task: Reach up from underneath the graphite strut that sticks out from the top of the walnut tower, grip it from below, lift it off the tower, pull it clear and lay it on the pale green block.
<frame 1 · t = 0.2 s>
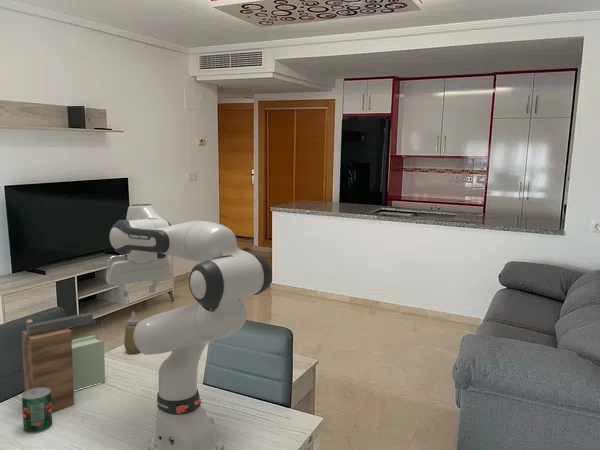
hand: (138, 294, 156), 39 cm above the table, tool pointing down, fingers open, 8 cm apart
strut: (61, 328, 162), point 26 cm above the table, touching tower
canned tomato: (38, 427, 149), on the table
squeeze bottle: (134, 352, 210), on the table
pale green block: (80, 385, 177), on the table
tower: (49, 406, 161), on the table
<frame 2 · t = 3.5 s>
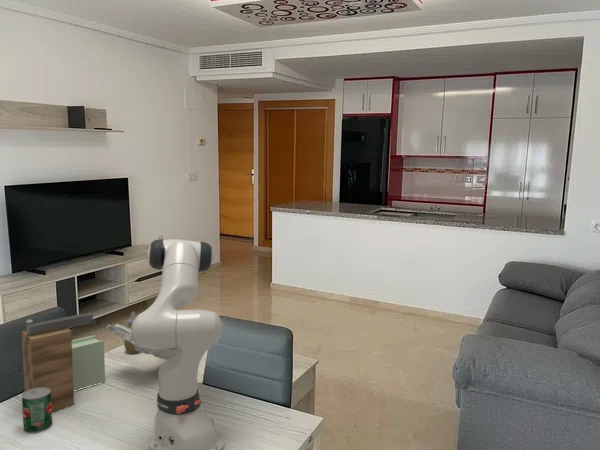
hand: (113, 330, 175), 21 cm above the table, tool pointing upward, fingers open, 8 cm apart
nothing on the table moved.
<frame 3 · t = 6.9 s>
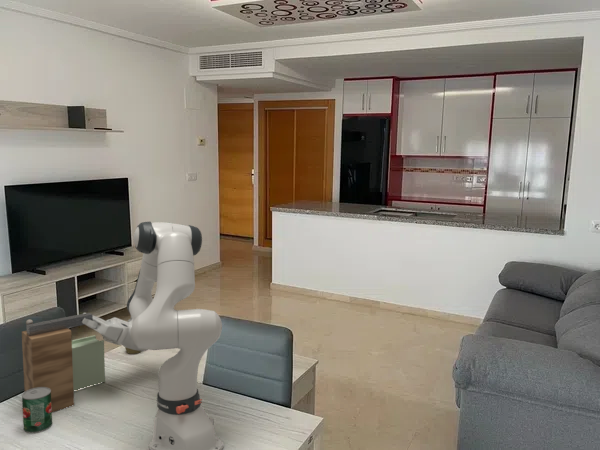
hand: (79, 318, 166), 28 cm above the table, tool pointing upward, fingers closed on strut, 3 cm apart
strut: (60, 328, 162), point 26 cm above the table, touching gripper, tower
everything else where it was.
when the fingers open (19 cm above the table, at t = 14.5 s): strut drops 3 cm, resting on pale green block.
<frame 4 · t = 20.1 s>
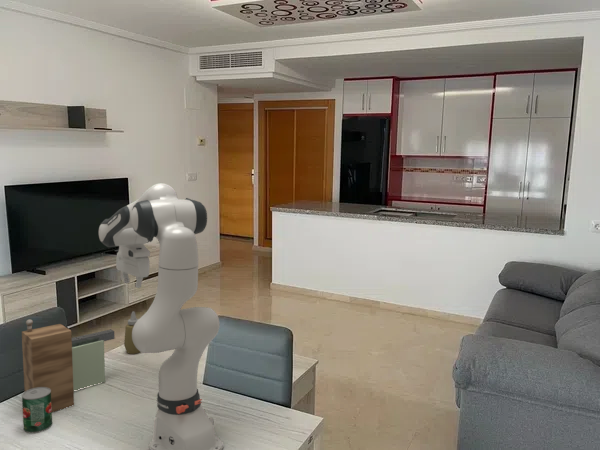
hand: (132, 285, 185), 35 cm above the table, tool pointing down, fingers open, 8 cm apart
strut: (86, 344, 177), point 15 cm above the table, touching pale green block
everything else where it was.
at the end: strut inside the target area (0.2 cm from its centre), point 15.0 cm above the table; strut touching pale green block; the gripper is holding nothing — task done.
